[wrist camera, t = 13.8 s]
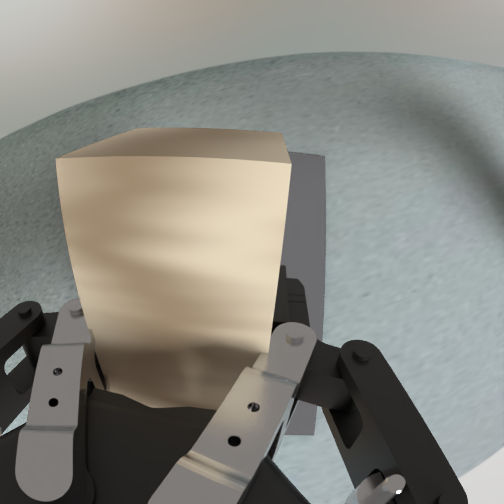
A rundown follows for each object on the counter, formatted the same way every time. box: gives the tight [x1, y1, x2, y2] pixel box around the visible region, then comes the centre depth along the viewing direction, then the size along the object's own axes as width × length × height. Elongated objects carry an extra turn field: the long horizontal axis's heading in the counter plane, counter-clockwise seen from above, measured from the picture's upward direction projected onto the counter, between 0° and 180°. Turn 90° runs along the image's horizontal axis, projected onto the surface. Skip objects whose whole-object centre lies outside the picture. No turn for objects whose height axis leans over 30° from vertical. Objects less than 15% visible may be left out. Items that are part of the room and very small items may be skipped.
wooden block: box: [56, 128, 292, 410], centre depth 11 cm, size 5×5×14 cm
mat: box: [280, 152, 326, 435], centre depth 28 cm, size 16×26×1 cm, turn 175°
